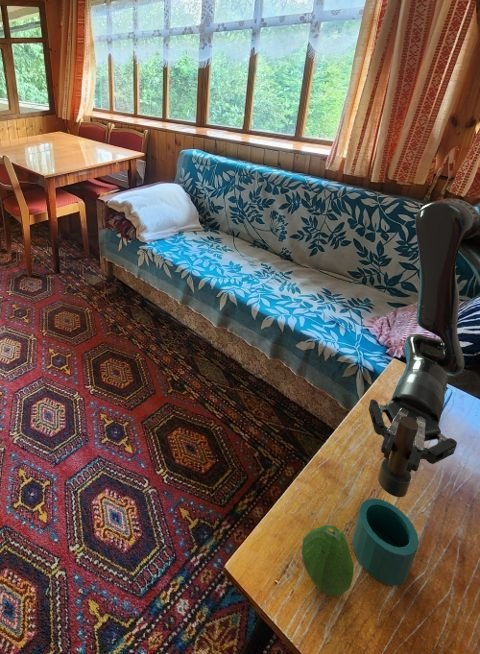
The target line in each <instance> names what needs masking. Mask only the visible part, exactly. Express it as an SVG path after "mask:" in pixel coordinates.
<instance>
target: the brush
mask: <svg viewBox="0 0 480 654" xmlns="http://www.w3.org/2000/svg"><path fill="white" fill-rule="evenodd" d="M418 428H419V426H418V424H417V422H416V421H415V420H414V419H412V418H410V417H407V416H402V417H400V419H399V423H398V427H397V431H396V435H395V439H394V443H393V447H392V451H391V453H390V456H389V459H387V458H384V459H382V461H381V463H380V467H379V471H378V475H377V481H378V484H379V485H380V487H381V488H382V489H383V490H384V491H385V492H386V493H387V494H388V495H391V496H392V497H395V498H404V497H405V496H406V495H407V493H408V490H409V487H410V483H411V481H412V475H411V472H409V471H407V470H406V468H407V464H408V461H409V457H410V454H411V451H412V449H413V445H414V442H415V438H416V435H417V431H418Z"/></svg>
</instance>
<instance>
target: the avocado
mask: <svg viewBox="0 0 480 654" xmlns="http://www.w3.org/2000/svg"><path fill="white" fill-rule="evenodd" d="M301 557H302V563H303V565H304V568H305V570H306V573H307V575H308V577H309V578H310V580H311V582H312V583H313V584H314V586H315V587H316V588H317V589H318V590H319V591H320V592H322V593H323V594H325V595H326V596H328V597H339V596H341V595H344V594H345V593H346V592H347V591H348V590H349V589H350V588H351V586H352V583H353V580H354V579H353V578H354V570H355V569H354V567H355V564H354V562H353V558H352V554H351V551H350V548H349V545H348V541H347V538H346V536H345V535H344V533H343V531H341V530H340V529H339V528H338V527H337V526H335V525H331V524H325V525H321V526H318V527H315V528H313V529H312V530H310V531H309V532H308V533H307V534H306V535H305V536H304V537H303V539H302V546H301Z"/></svg>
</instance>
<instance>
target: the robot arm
mask: <svg viewBox="0 0 480 654" xmlns="http://www.w3.org/2000/svg"><path fill="white" fill-rule="evenodd" d="M478 211H479V210H477V209H476V208H475V207H474V206H473V205H472V204H470V203H468V202H467V201H464V200H462V199H458V198H451V197H450V198H442V199H439V200H436V201H432V202H429V203H427V204H425V205H424V206H422V207H421V208H420V209H419V210H418V211H417V212H416V215H415V218H414V224H415V225H414V226H415V235H416V241H417V249H418V264H419V265H418V266H419V278H418V279H419V281H418V283H419V284H418V293H417V307H416V318H415V319H416V322H417V323H416V324H417V325H418V326H419V327H420V328H422V329H423V330H425V331H426V332H429V333H431V334H433V335H435V336H437V337H438V338H434V337H431V336H427V335H424V334H420V333H413V334H410V335H408V336H407V337H406V338H405V341H404V344H403V345H404V346H403V347H404V348H403V349H404V355H405V359H406V365H405V368H404V371H403V373H402V375H401V377H400V378H399V380H398V382H397V384H396V387H395V389H394V391H393V394H392V397H391V399H390V402H387V403H385V404H380V403H378V401H377V400H376V399H373V398H372V399H370V402H369V406H368V412H369V416H370V420H371V423H372V427H373V430H374V432H375V434H376V435H378V436H382V438H383V440H382V443H381V447H380V452H381V453H382V454H383V458H384V459H386V458H387V459H389V458H390V454H391V451H392V447H393V443H394V439H395V435H396V431H397V427H398V423H399V419H400V417H402V416H407V417H410V418H412V419H414V420H415V421H416V422H417V424H418V426H419V428H418V431H417V435H416V438H415V442H414V445H413V449H412V451H411V454H410V457H409V461H408V464H407V468H406V470H407V471H409V472H410V473H412V471H413V472H415V473H416V472H418V470H419V467H420V463H421V460H426V462H427V463H429V464H431V465H434V464H436V463H439V462H440V461H442V460H445V459H446V458H448V457H450V456H452V455H455V452H456V448H457V446H458V442H457V440H455V439H454V438H451V437H446V436H445V435H444V434H443V433H442V430H441V428H440V422H441V417H442V414H443V411H444V405H445V401H446V400H445V397H446V395H445V394H446V389H447V386H448V382H449V377H448V376H457V375H459V374H460V373H462V372H463V370H464V368H465V358H464V353H463V350H462V346H461V342H460V339H459V334H458V321H459V320H458V318H459V310H460V291H459V286H458V281H457V275H456V265H457V264H456V263H457V256H458V254H459V255H460V256H461V257H462V258H463V259H464V261H466V263H467V264H468V265H469V267H470V269H471V271H472V272H473V274H474V276H475V279H476V280H477V282H478V284H479V286H480V212H478ZM384 414H385V415H386V417H387V419H388V421H389V423H390V425H389V426H386V425H385V421H384V418H383V415H384ZM434 440H437V443H436V444H433V445H432V446H430V447H425V442H430V441H434Z"/></svg>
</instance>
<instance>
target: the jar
mask: <svg viewBox="0 0 480 654" xmlns="http://www.w3.org/2000/svg"><path fill="white" fill-rule="evenodd" d="M419 543H420V542H419V534H418V533H417V530H416V528H415V526H414V524H413V522H412V521H411V520H410V519H409V517H408V516H406V514H405V513H404V512H403V511H402V510H401V509H399V508H398V507H397V506H396V505H394V504H393V503H391V502H389V501H386V500H384V499H381V498H373V497H372V498H367V499H365V500H364V501H362V502H361V503H360V506H359V509H358V513H357V517H356V523H355V526H354V530H353V534H352V549H353V552H354V554H355V557H356V560H358V562H359V564H360V565H361V566H362V568H363V569H364V570H365V571H366V572H367V573H368V574H369V575H370V576H371V577H373V578H374V579H376V580H377V581H379V582H380V583H382V584H384V585H387V586H391V587H397V586H401V585H403V584H404V583H405V582H406V581H407V579H408V578H409V574H410V572H411V568H412V566H413V563H414V560H415V557H416V554H417V551H418V547H419Z"/></svg>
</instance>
